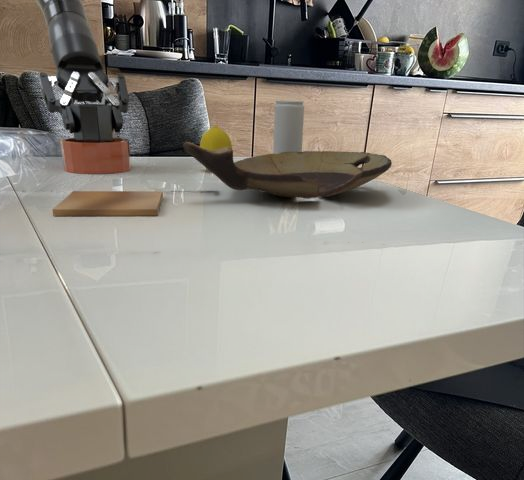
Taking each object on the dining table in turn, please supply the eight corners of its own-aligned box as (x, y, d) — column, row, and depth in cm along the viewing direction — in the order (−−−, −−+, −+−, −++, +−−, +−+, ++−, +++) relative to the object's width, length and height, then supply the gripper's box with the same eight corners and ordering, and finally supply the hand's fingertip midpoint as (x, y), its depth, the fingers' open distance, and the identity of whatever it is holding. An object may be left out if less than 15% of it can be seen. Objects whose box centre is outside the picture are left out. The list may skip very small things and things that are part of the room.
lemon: (196, 173, 96) (195, 124, 92) (226, 172, 98) (226, 124, 94) (205, 178, 91) (203, 126, 88) (236, 177, 93) (236, 126, 90)
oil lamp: (417, 209, 71) (426, 147, 68) (185, 211, 68) (182, 145, 64) (365, 182, 91) (370, 132, 88) (184, 182, 87) (182, 130, 84)
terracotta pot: (58, 178, 88) (53, 142, 85) (72, 169, 97) (68, 136, 95) (127, 179, 89) (124, 143, 87) (134, 169, 99) (131, 137, 96)
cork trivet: (53, 216, 64) (52, 209, 63) (73, 197, 74) (73, 191, 74) (157, 215, 65) (156, 209, 65) (163, 197, 76) (162, 191, 75)
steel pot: (75, 171, 90) (67, 105, 85) (82, 166, 95) (75, 103, 91) (114, 171, 90) (108, 105, 86) (119, 166, 96) (113, 104, 92)
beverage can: (269, 178, 92) (271, 100, 87) (275, 174, 97) (278, 100, 91) (297, 180, 91) (301, 101, 86) (302, 176, 96) (306, 101, 90)
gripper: (28, 28, 87) (48, 112, 83) (118, 33, 93) (142, 112, 88) (30, 66, 93) (49, 146, 89) (115, 69, 99) (136, 144, 95)
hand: (95, 129), depth 89 cm, fingers closed on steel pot, 6 cm apart
